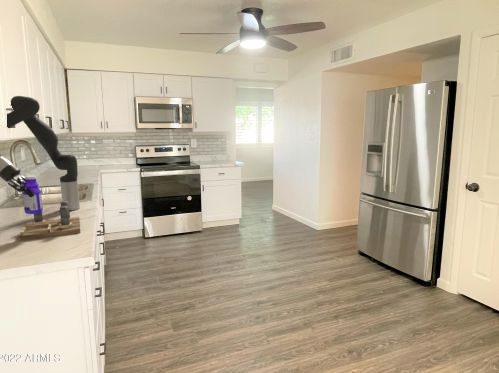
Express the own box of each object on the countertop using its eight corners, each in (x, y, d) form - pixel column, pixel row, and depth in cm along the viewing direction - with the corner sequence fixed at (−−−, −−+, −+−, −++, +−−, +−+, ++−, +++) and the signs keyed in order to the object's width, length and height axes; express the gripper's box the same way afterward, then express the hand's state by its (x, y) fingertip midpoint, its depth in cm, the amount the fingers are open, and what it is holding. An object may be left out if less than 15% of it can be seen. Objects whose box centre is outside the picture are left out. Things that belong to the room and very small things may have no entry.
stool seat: (26, 226, 171) (24, 203, 169) (79, 220, 182) (77, 198, 180) (20, 240, 150) (17, 214, 148) (80, 232, 161) (78, 208, 159)
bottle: (45, 211, 159) (41, 175, 156) (38, 214, 154) (34, 176, 151) (29, 211, 159) (25, 175, 156) (22, 214, 153) (17, 176, 150)
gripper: (1, 165, 144) (34, 191, 148) (19, 161, 158) (49, 186, 162) (-11, 177, 145) (22, 203, 148) (8, 172, 159) (38, 197, 162)
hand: (36, 194), depth 155 cm, fingers closed on bottle, 5 cm apart
